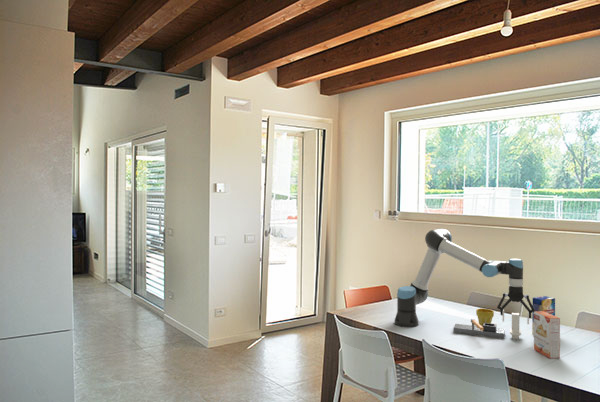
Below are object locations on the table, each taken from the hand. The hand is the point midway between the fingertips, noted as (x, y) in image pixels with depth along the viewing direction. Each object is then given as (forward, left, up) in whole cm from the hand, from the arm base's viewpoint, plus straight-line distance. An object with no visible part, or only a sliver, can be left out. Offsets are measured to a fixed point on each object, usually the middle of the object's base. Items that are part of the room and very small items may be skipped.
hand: (515, 322), depth 272 cm
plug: (0, -1, -9) cm, 9 cm away
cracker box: (+15, -24, -9) cm, 30 cm away
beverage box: (+15, +14, -9) cm, 22 cm away
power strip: (-20, 0, -9) cm, 22 cm away
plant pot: (-18, +20, -9) cm, 28 cm away
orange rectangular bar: (-20, -11, -6) cm, 24 cm away
